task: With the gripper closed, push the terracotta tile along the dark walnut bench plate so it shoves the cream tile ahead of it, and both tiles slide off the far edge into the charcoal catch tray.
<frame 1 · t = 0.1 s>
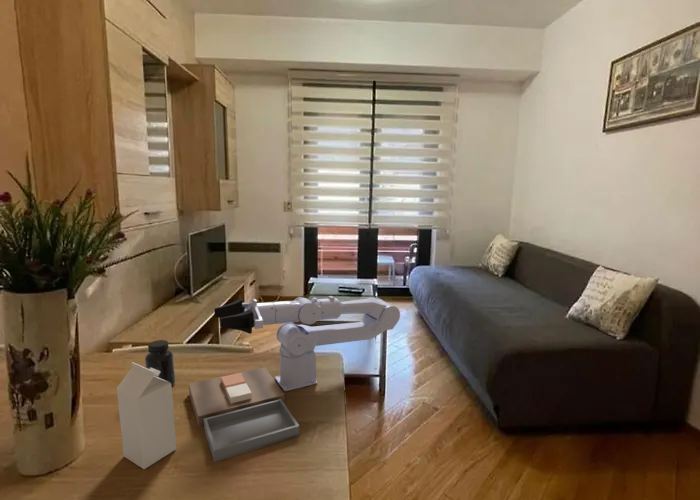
hand: (217, 317, 100), 22 cm above the table, tool horizontal, fingers open, 7 cm apart
catch tray: (251, 432, 91), on the table
bench plate: (236, 400, 104), on the table
cream tile: (238, 395, 100), point 3 cm above the table, touching bench plate
terracotta tile: (233, 384, 106), point 3 cm above the table, touching bench plate
supplement bottle: (161, 386, 110), on the table
milk carton: (150, 454, 84), on the table
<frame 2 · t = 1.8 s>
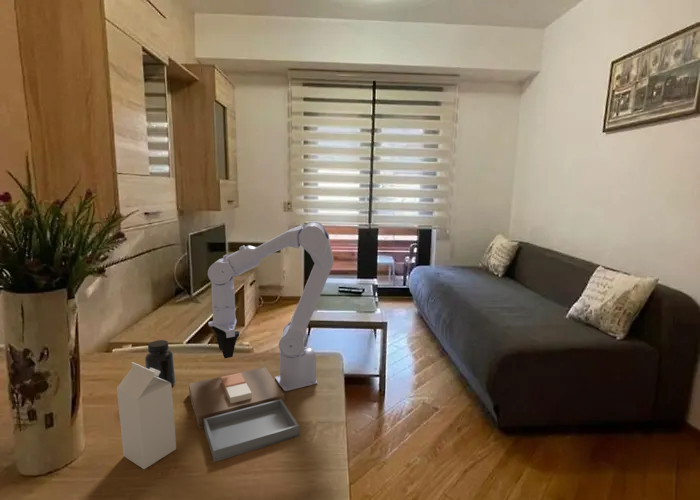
hand: (226, 353, 111), 8 cm above the table, tool pointing down, fingers open, 5 cm apart
nothing on the table moved.
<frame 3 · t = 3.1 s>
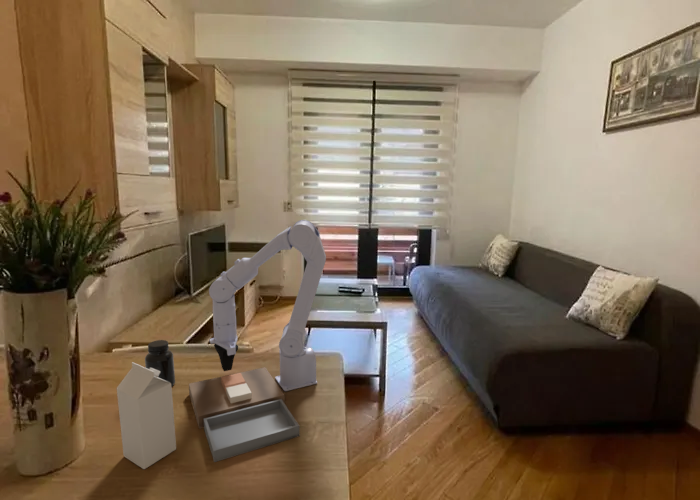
hand: (227, 369, 112), 4 cm above the table, tool pointing down, fingers closed
nothing on the table moved.
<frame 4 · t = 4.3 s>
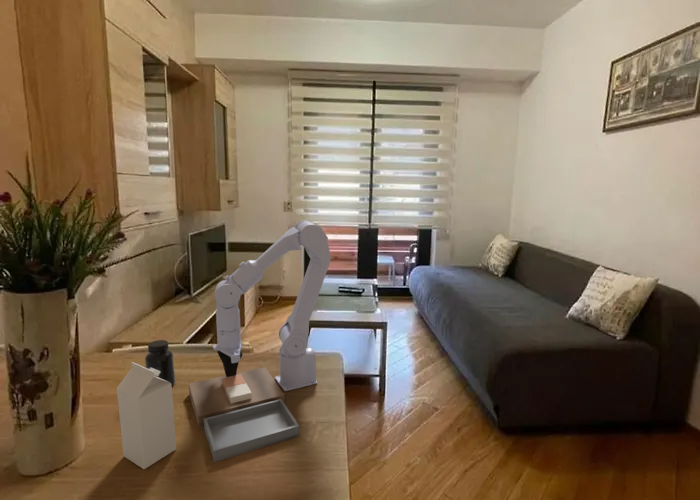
hand: (230, 377, 108), 4 cm above the table, tool pointing down, fingers closed
terracotta tile: (233, 385, 105), point 3 cm above the table, touching gripper
everything else where it was.
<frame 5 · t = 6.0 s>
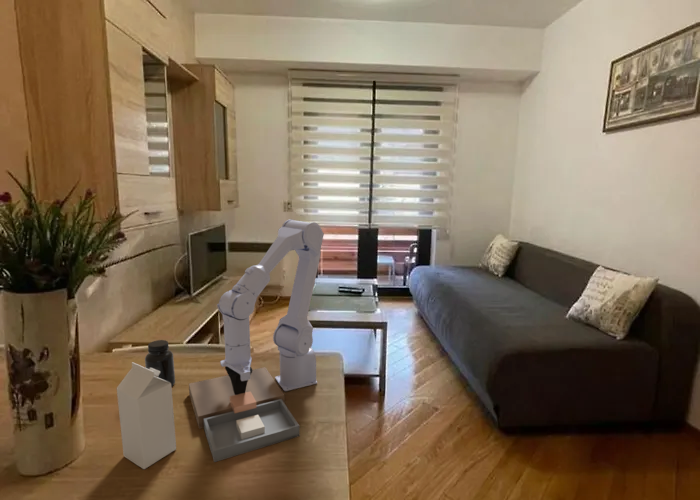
hand: (239, 394, 99), 4 cm above the table, tool pointing down, fingers closed
cream tile: (250, 423, 91), point 2 cm above the table, tilted 180°, touching catch tray
terracotta tile: (242, 404, 96), point 3 cm above the table, touching gripper
everything else where it was.
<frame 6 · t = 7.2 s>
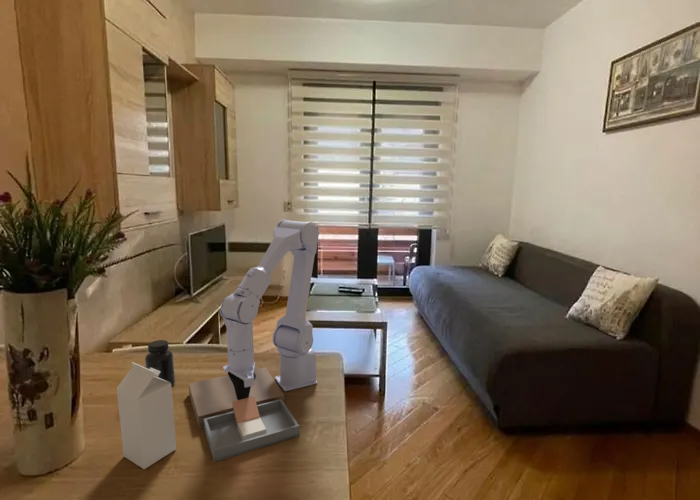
hand: (242, 400, 97), 4 cm above the table, tool pointing down, fingers closed
cream tile: (251, 426, 90), point 2 cm above the table, tilted 180°, touching catch tray, terracotta tile
terracotta tile: (245, 412, 95), point 3 cm above the table, tilted 32°, touching cream tile, gripper
everything else where it was.
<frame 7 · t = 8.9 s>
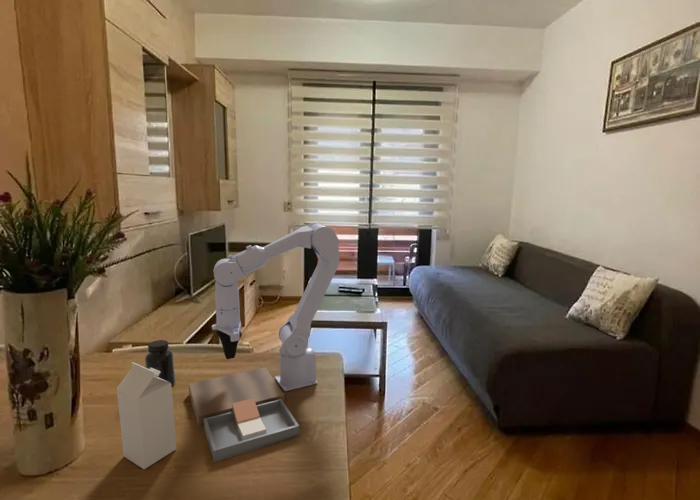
hand: (230, 357, 106), 9 cm above the table, tool pointing down, fingers closed
terracotta tile: (245, 413, 95), point 2 cm above the table, tilted 23°, touching catch tray, cream tile
everything else where it was.
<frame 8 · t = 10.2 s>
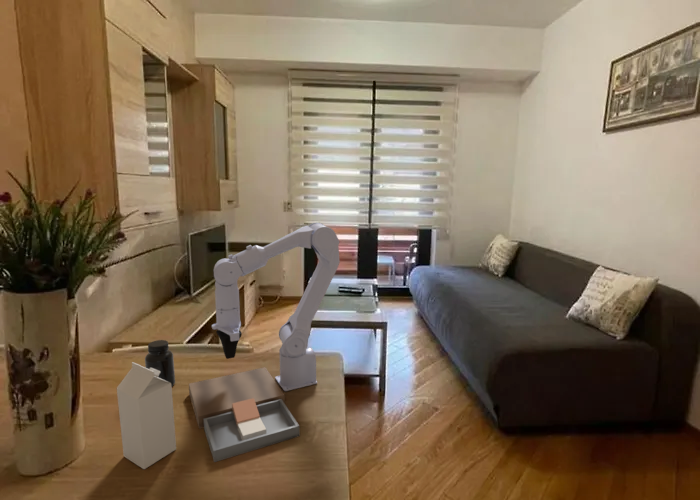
hand: (230, 357, 106), 9 cm above the table, tool pointing down, fingers closed
nothing on the table moved.
at the end: cream tile inside the target area on the catch tray (0.8 cm from its centre), point 2.1 cm above the catch tray's base; terracotta tile inside the target area on the catch tray (4.4 cm from its centre), point 2.1 cm above the catch tray's base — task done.
